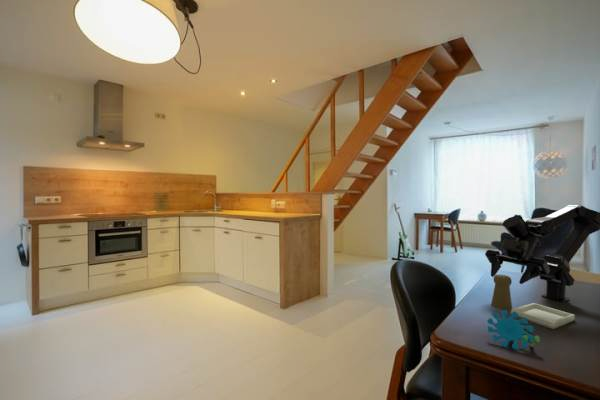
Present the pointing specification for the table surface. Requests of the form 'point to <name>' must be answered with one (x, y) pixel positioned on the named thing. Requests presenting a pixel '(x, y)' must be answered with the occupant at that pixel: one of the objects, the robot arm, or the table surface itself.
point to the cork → (502, 292)
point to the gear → (512, 330)
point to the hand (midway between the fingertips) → (505, 279)
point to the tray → (544, 315)
